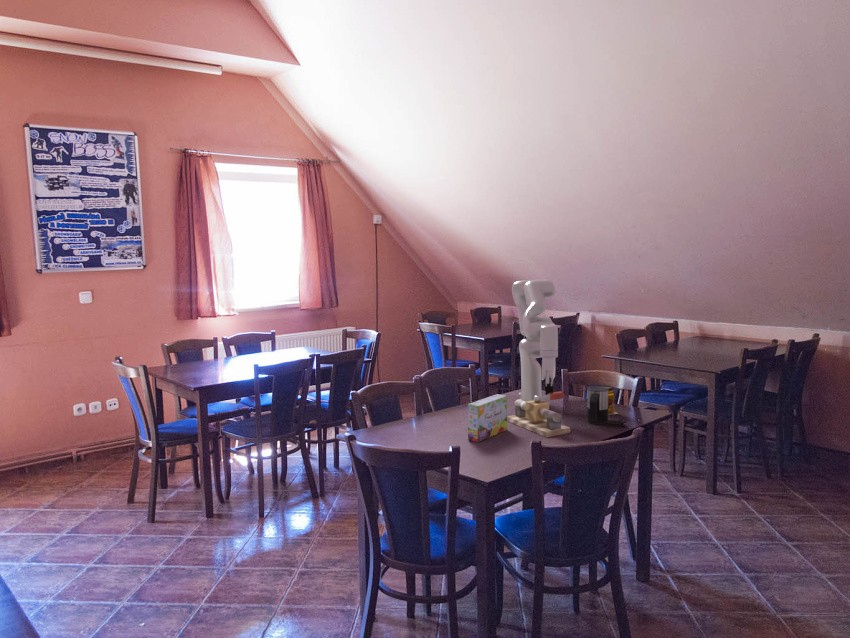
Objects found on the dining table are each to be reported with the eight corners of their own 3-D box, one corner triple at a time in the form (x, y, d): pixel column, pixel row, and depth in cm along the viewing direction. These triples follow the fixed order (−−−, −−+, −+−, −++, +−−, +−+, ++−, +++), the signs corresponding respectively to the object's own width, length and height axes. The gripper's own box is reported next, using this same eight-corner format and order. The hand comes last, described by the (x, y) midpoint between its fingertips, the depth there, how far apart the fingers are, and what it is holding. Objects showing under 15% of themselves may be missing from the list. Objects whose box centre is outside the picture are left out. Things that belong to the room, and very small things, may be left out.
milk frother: (585, 418, 280) (585, 385, 278) (623, 419, 277) (623, 386, 276) (588, 428, 266) (588, 393, 265) (627, 428, 264) (627, 393, 262)
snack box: (479, 443, 251) (478, 405, 249) (467, 440, 254) (466, 403, 252) (508, 430, 267) (507, 394, 265) (496, 427, 270) (496, 393, 269)
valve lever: (536, 402, 267) (536, 396, 267) (532, 401, 270) (532, 395, 269) (563, 398, 274) (563, 392, 274) (559, 397, 276) (559, 391, 276)
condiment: (605, 416, 284) (605, 389, 282) (593, 411, 291) (593, 385, 290) (618, 413, 286) (618, 387, 285) (606, 409, 294) (606, 384, 293)
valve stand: (506, 420, 280) (506, 397, 279) (529, 416, 286) (528, 393, 284) (546, 437, 255) (546, 411, 254) (570, 432, 261) (570, 407, 259)
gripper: (542, 350, 284) (543, 390, 286) (537, 356, 270) (538, 398, 272) (559, 350, 281) (560, 391, 284) (555, 356, 267) (556, 399, 269)
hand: (549, 394), depth 278 cm, fingers closed
